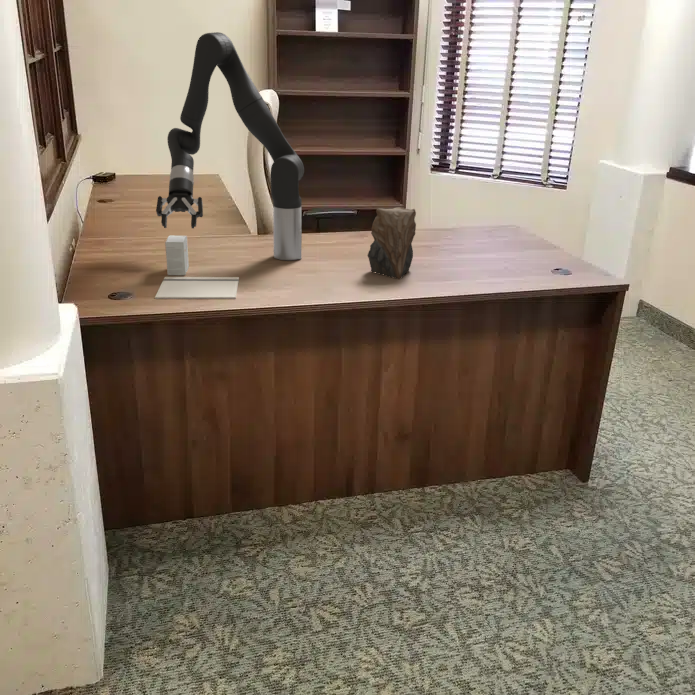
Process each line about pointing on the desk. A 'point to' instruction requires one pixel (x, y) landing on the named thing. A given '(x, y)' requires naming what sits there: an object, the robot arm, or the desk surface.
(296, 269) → the desk surface
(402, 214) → the owl
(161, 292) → the mat
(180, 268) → the small box
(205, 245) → the desk surface
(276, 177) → the robot arm
